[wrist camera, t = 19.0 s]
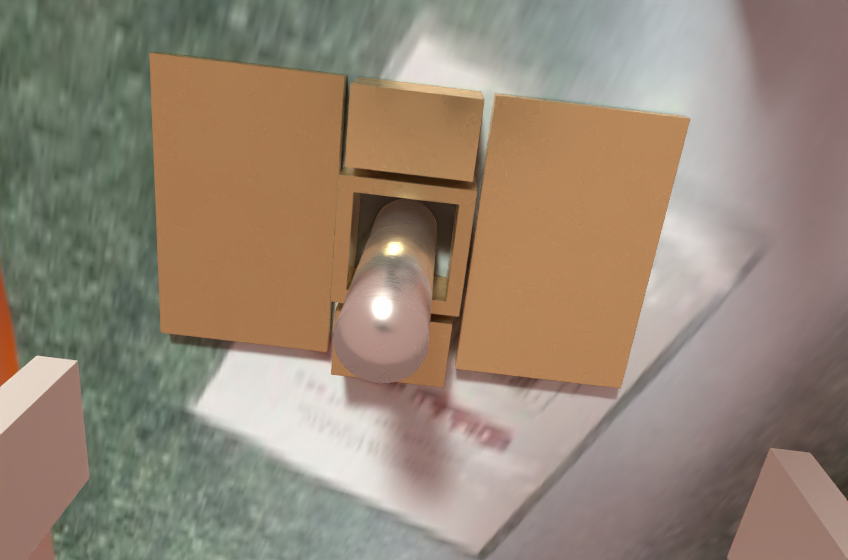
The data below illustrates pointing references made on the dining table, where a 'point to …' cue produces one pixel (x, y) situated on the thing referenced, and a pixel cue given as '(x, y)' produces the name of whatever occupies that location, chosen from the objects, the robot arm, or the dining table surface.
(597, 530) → the dining table surface
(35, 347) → the dining table surface
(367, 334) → the pin
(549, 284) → the hinge flap with knuckles
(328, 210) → the fixed leaf
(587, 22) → the dining table surface
